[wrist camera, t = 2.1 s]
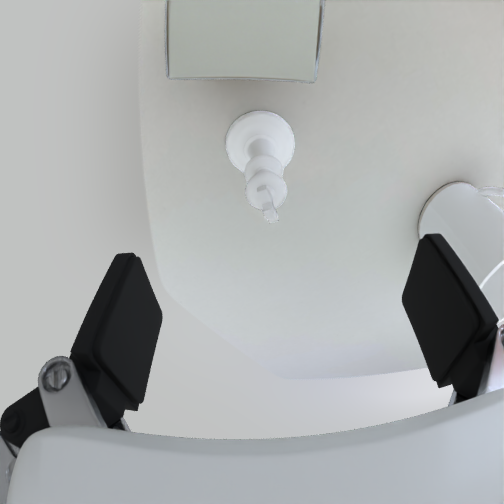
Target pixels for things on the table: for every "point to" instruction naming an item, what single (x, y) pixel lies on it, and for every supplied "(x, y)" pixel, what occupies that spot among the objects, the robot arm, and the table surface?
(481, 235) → the mug
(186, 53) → the box
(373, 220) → the table surface
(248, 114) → the chess piece
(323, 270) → the table surface
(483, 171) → the table surface
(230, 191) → the table surface
